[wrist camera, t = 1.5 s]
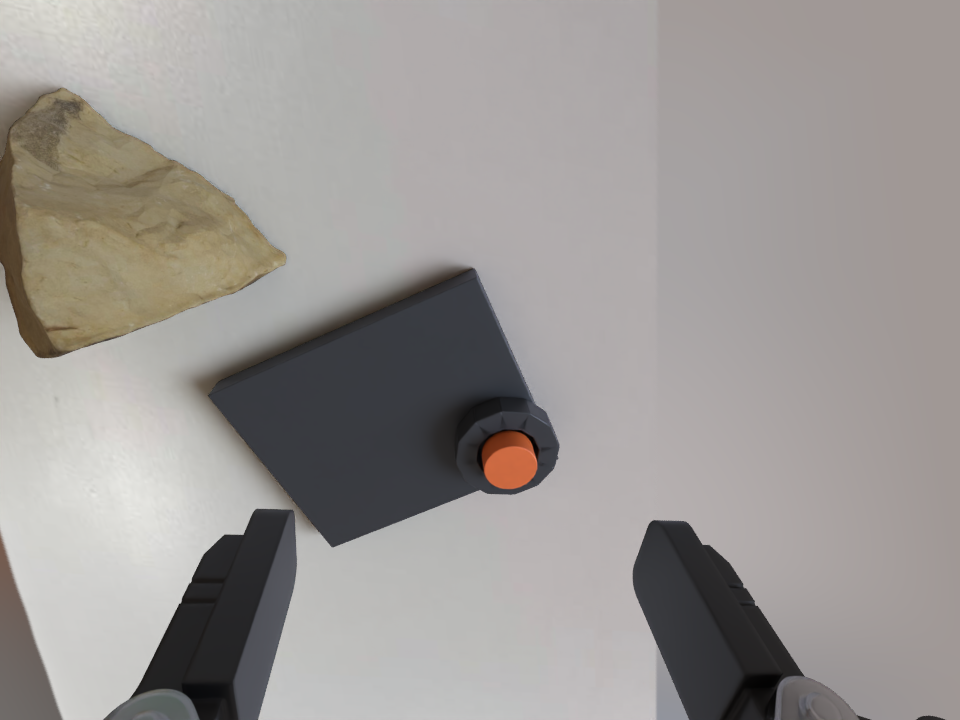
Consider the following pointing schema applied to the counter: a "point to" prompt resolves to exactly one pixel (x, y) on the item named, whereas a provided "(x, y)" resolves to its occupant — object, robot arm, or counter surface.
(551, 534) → the counter surface
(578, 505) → the counter surface
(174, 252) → the rock
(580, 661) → the counter surface
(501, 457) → the button
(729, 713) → the robot arm
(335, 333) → the scale
